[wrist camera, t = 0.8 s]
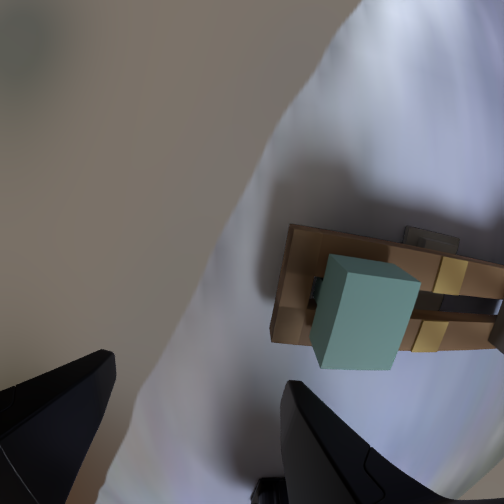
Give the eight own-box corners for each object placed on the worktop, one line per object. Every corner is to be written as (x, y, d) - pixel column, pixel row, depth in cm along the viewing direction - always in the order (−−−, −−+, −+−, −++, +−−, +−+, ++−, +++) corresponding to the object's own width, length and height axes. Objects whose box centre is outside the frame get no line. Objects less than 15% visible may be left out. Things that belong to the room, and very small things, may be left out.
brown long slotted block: (484, 341, 22) (521, 374, 16) (265, 331, 21) (271, 387, 15) (514, 253, 20) (561, 273, 14) (289, 202, 19) (309, 216, 13)
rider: (360, 326, 19) (389, 370, 14) (303, 321, 19) (320, 368, 14) (380, 254, 18) (421, 282, 13) (320, 244, 18) (348, 272, 13)
